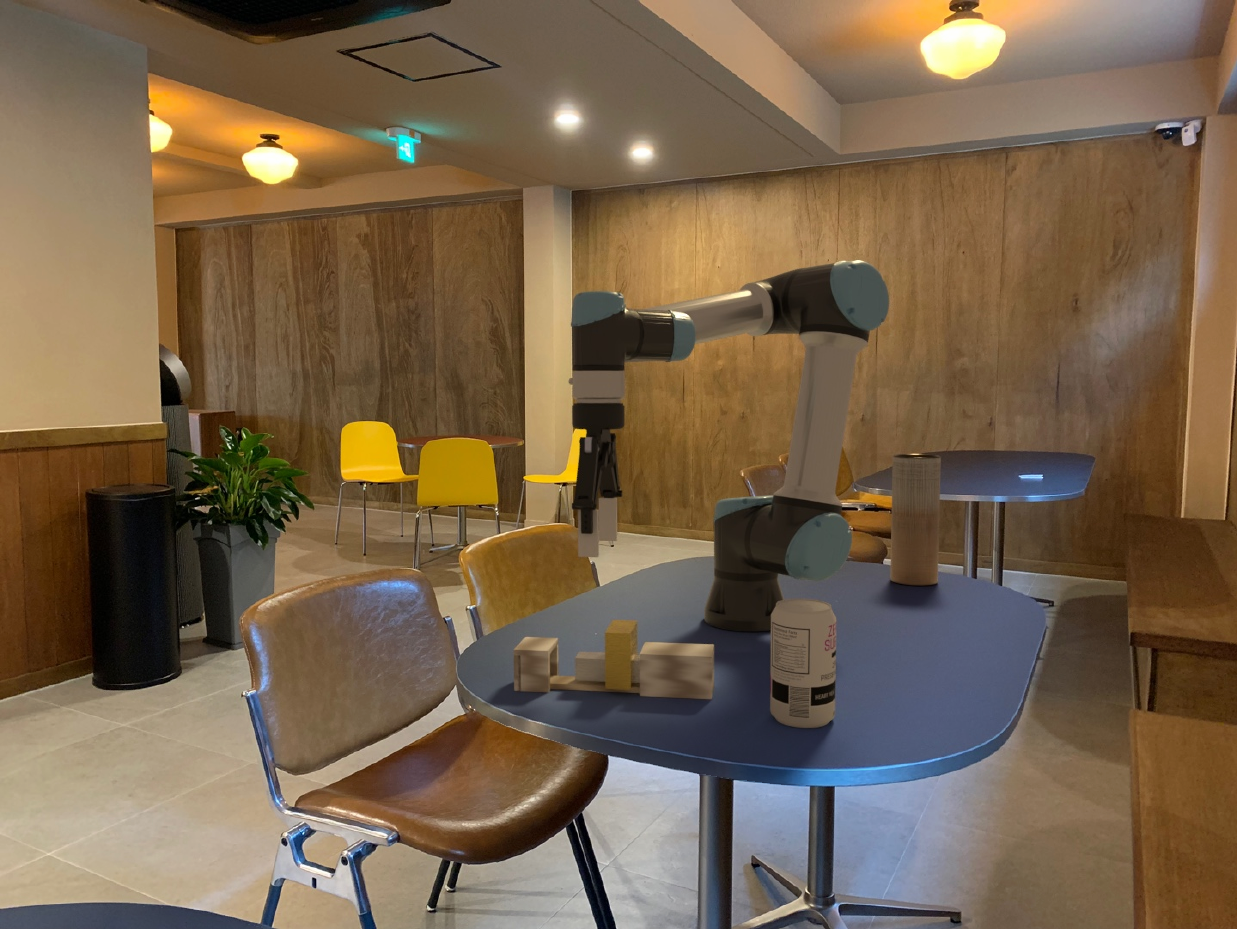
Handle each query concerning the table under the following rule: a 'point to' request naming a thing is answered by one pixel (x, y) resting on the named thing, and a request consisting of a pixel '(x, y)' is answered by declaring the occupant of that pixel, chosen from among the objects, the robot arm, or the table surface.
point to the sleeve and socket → (660, 676)
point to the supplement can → (803, 663)
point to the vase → (915, 519)
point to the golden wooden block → (614, 658)
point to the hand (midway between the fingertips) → (598, 548)
